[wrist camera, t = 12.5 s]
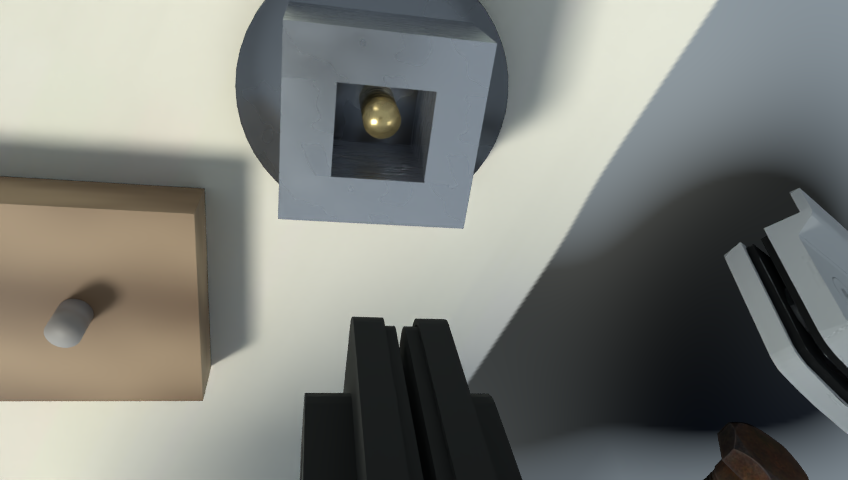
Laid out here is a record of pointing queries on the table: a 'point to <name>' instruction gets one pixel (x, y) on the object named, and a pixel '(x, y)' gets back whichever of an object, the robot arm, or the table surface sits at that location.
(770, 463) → the bolt
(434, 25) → the square hollow frame
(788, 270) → the hinge
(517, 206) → the table surface
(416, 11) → the hub
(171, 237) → the stand
